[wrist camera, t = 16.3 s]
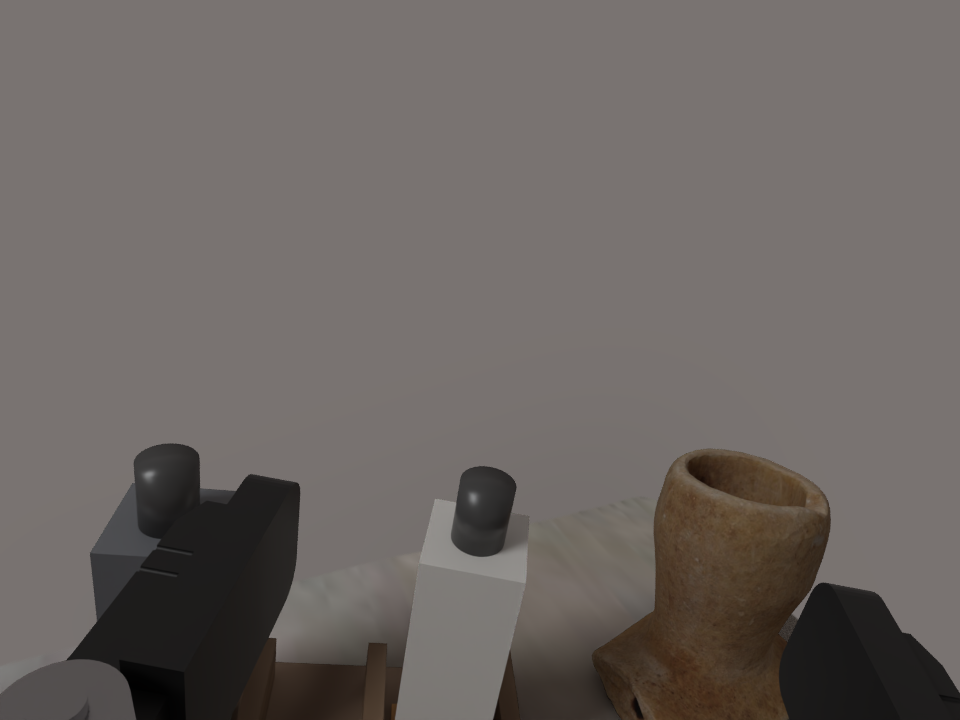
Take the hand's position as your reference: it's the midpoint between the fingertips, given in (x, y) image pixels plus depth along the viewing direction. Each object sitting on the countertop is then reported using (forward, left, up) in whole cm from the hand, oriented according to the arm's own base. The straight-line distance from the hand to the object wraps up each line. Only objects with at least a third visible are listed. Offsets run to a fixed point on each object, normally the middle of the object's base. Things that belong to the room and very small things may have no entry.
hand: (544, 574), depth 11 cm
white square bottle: (-2, -16, -27) cm, 31 cm away
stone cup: (-19, -22, -28) cm, 40 cm away
